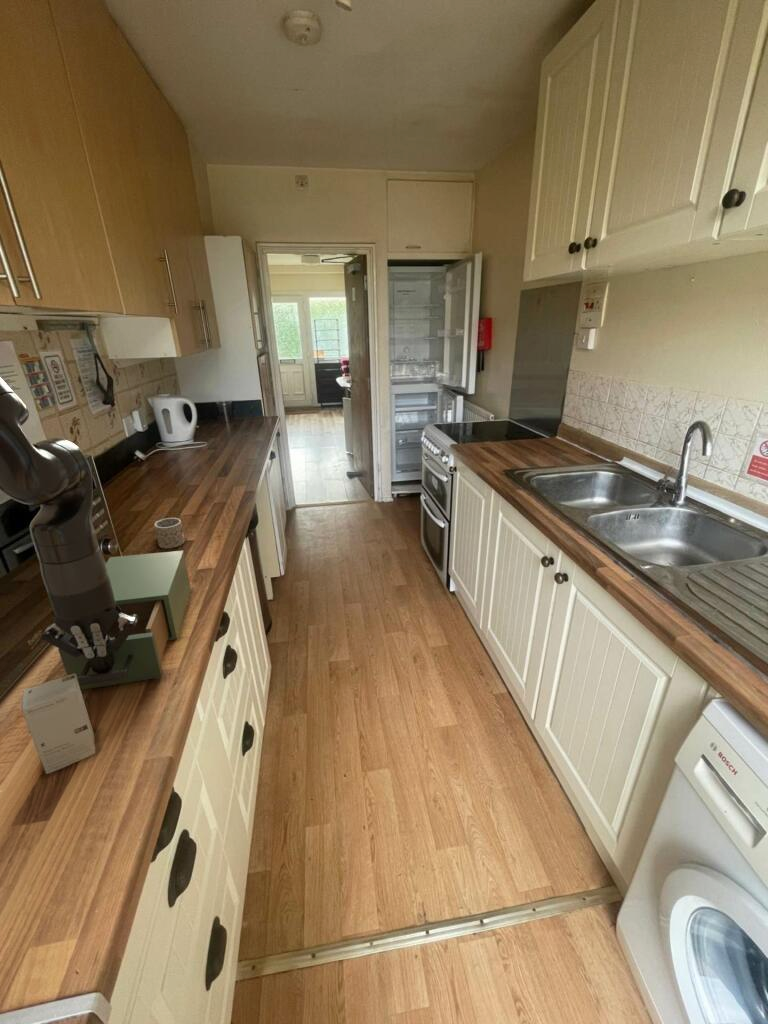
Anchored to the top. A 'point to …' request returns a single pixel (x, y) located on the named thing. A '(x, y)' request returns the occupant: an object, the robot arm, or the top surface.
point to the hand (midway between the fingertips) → (105, 670)
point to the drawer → (128, 649)
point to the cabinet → (152, 582)
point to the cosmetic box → (58, 722)
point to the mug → (169, 532)
